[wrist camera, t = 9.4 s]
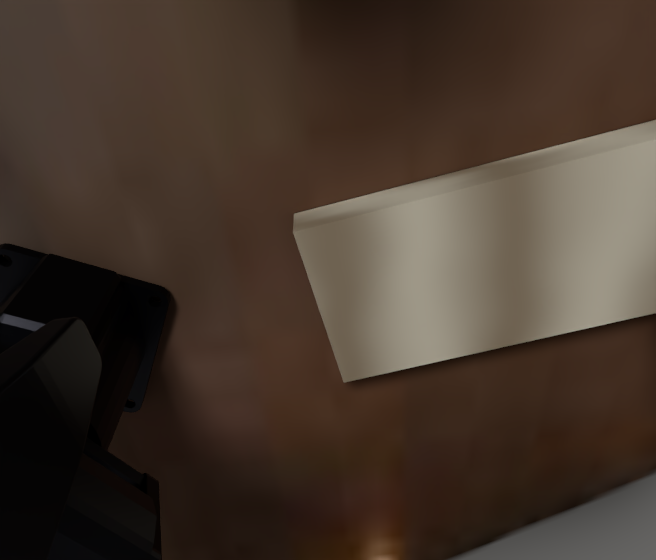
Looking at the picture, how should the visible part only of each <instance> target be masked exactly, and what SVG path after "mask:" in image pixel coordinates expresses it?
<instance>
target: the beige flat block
mask: <svg viewBox="0 0 656 560" xmlns="http://www.w3.org/2000/svg"><path fill="white" fill-rule="evenodd" d="M293 234H294V236H295V239H296V242H297V245H298V248H299V251H300V254H301V257H302V260H303V263H304V266H305V269H306V272H307V275H308V278H309V281H310V284H311V287H312V290H313V293H314V296H315V299H316V302H317V305H318V308H319V311H320V314H321V317H322V320H323V323H324V325H325V328H326V331H327V334H328V337H329V340H330V343H331V346H332V349H333V352H334V355H335V358H336V361H337V364H338V367H339V370H340V373H341V376H342V379H343V382H344V383H345V382H349V381H354V380H358V379H363V378H367V377H372V376H376V375H381V374H385V373H390V372H394V371H399V370H403V369H408V368H412V367H416V366H421V365H425V364H430V363H434V362H439V361H443V360H448V359H452V358H457V357H461V356H466V355H470V354H475V353H479V352H484V351H488V350H493V349H497V348H502V347H506V346H511V345H515V344H520V343H524V342H529V341H533V340H537V339H542V338H546V337H551V336H555V335H560V334H564V333H569V332H573V331H578V330H582V329H587V328H591V327H596V326H600V325H605V324H609V323H614V322H618V321H623V320H627V319H632V318H636V317H641V316H645V315H650V314H654V313H656V120H653V121H650V122H646V123H642V124H638V125H634V126H630V127H627V128H623V129H619V130H615V131H611V132H607V133H603V134H600V135H596V136H592V137H588V138H584V139H580V140H576V141H573V142H569V143H565V144H561V145H557V146H553V147H550V148H546V149H542V150H538V151H534V152H530V153H526V154H523V155H519V156H515V157H511V158H507V159H503V160H499V161H496V162H492V163H488V164H484V165H480V166H476V167H473V168H469V169H465V170H461V171H457V172H453V173H449V174H446V175H442V176H438V177H434V178H430V179H426V180H423V181H419V182H415V183H411V184H407V185H403V186H399V187H396V188H392V189H388V190H384V191H380V192H376V193H372V194H369V195H365V196H361V197H357V198H353V199H349V200H346V201H342V202H338V203H334V204H330V205H326V206H322V207H319V208H315V209H311V210H307V211H303V212H299V213H296V214H294V225H293Z"/></svg>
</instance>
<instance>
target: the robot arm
mask: <svg viewBox="0 0 656 560" xmlns="http://www.w3.org/2000/svg"><path fill="white" fill-rule="evenodd" d="M3 255H7V256H9V257H10V258H11V259H12V261H8V260H6V259H5V258H4V257H3ZM152 296H157V297H159V298H160V299H161V300H162V301H160V302H158V301H154V300H153V299H152V298H151V297H152ZM169 302H170V294H169V292H168V291H167V290H166V289H165V288H164V287H162V286H159V285H156V284H152V283H148V282H145V281H141V280H138V279H134V278H130V277H127V276H123V275H120V274H117V273H116V272H114V271H111V270H107V269H104V268H100V267H97V266H93V265H89V264H86V263H82V262H79V261H75V260H71V259H68V258H64V257H61V256H57V255H54V254H49V255H48V254H44V253H41V252H37V251H34V250H30V249H26V248H23V247H19V246H16V245H12V244H1V245H0V560H162V553H161V529H160V505H159V482H158V481H157V480H156V479H154V478H153V477H151V476H150V475H148V474H147V473H144V474H141V473H139V472H138V471H136V470H135V469H133V468H132V467H130V466H129V465H127V464H126V463H124V462H123V461H121V460H120V459H118V458H117V457H115V456H114V455H112V454H111V453H109V452H108V451H107V450H108V448H109V445H110V442H111V440H112V437H113V435H114V432H115V430H116V427H117V424H118V422H119V419H120V417H121V414H122V412H123V411H125V412H136V411H138V410H139V409H140V408H141V406H142V403H143V400H144V396H145V392H146V389H147V385H148V381H149V377H150V374H151V370H152V366H153V362H154V358H155V355H156V351H157V347H158V343H159V340H160V336H161V332H162V328H163V325H164V321H165V317H166V313H167V310H168V306H169ZM127 399H131V400H133V401H134V402H131V401H128V400H127Z"/></svg>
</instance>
